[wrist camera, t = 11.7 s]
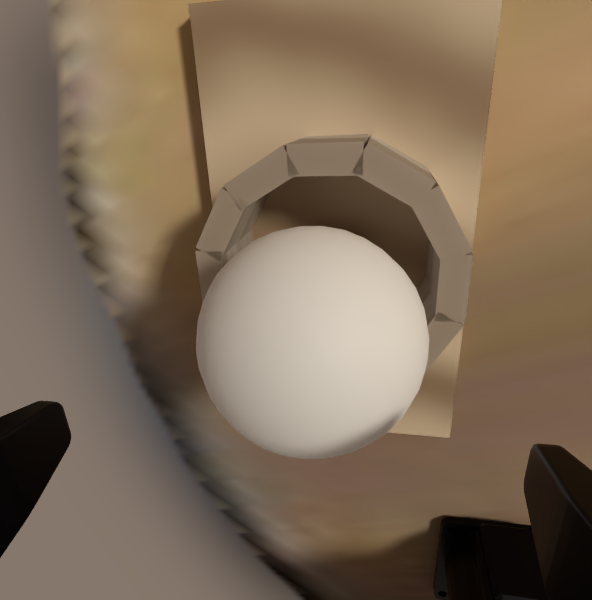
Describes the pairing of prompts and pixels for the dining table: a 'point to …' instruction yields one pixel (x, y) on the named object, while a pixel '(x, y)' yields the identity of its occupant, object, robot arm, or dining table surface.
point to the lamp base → (353, 143)
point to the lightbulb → (312, 342)
